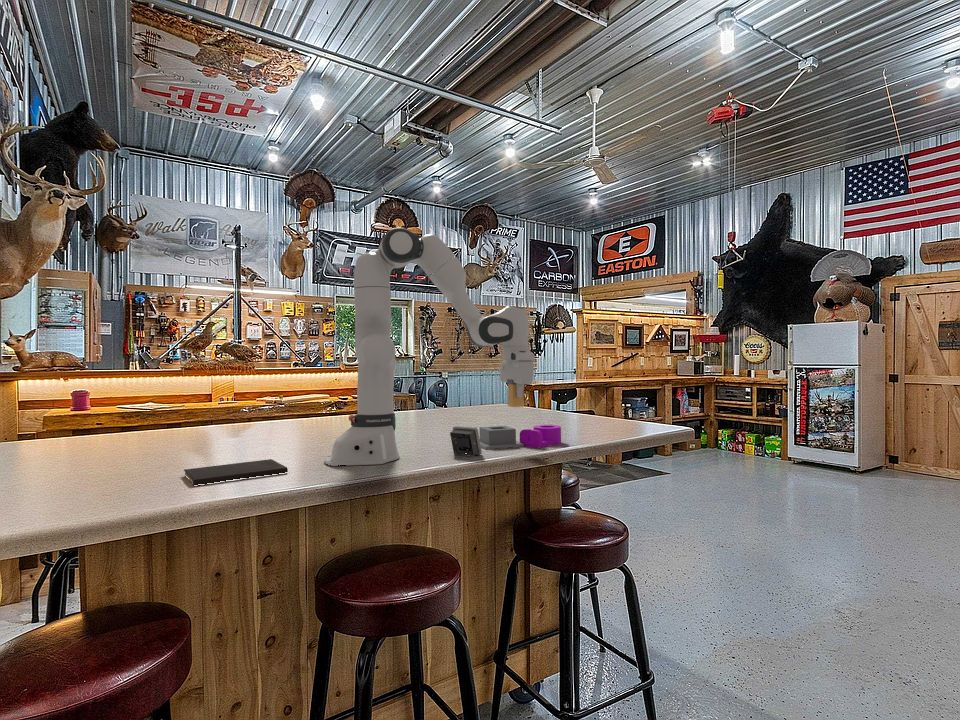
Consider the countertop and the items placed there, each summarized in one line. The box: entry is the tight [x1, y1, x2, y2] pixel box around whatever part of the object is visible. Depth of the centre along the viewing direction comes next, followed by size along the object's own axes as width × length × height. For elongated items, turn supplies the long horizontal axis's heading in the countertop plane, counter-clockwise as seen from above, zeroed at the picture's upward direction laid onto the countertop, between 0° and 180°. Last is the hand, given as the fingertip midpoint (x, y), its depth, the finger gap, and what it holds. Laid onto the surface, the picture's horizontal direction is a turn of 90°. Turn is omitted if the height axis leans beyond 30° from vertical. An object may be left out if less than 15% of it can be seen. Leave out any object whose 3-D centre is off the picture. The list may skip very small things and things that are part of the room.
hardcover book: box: [183, 458, 289, 486], centre depth 144 cm, size 16×23×2 cm
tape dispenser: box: [519, 424, 562, 449], centre depth 189 cm, size 16×10×6 cm, turn 139°
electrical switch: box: [449, 425, 483, 457], centre depth 170 cm, size 9×5×9 cm, turn 57°
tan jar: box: [506, 379, 525, 408], centre depth 176 cm, size 5×5×9 cm
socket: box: [479, 425, 525, 450], centre depth 188 cm, size 14×14×6 cm
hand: (515, 396), depth 176 cm, fingers closed on tan jar, 4 cm apart
